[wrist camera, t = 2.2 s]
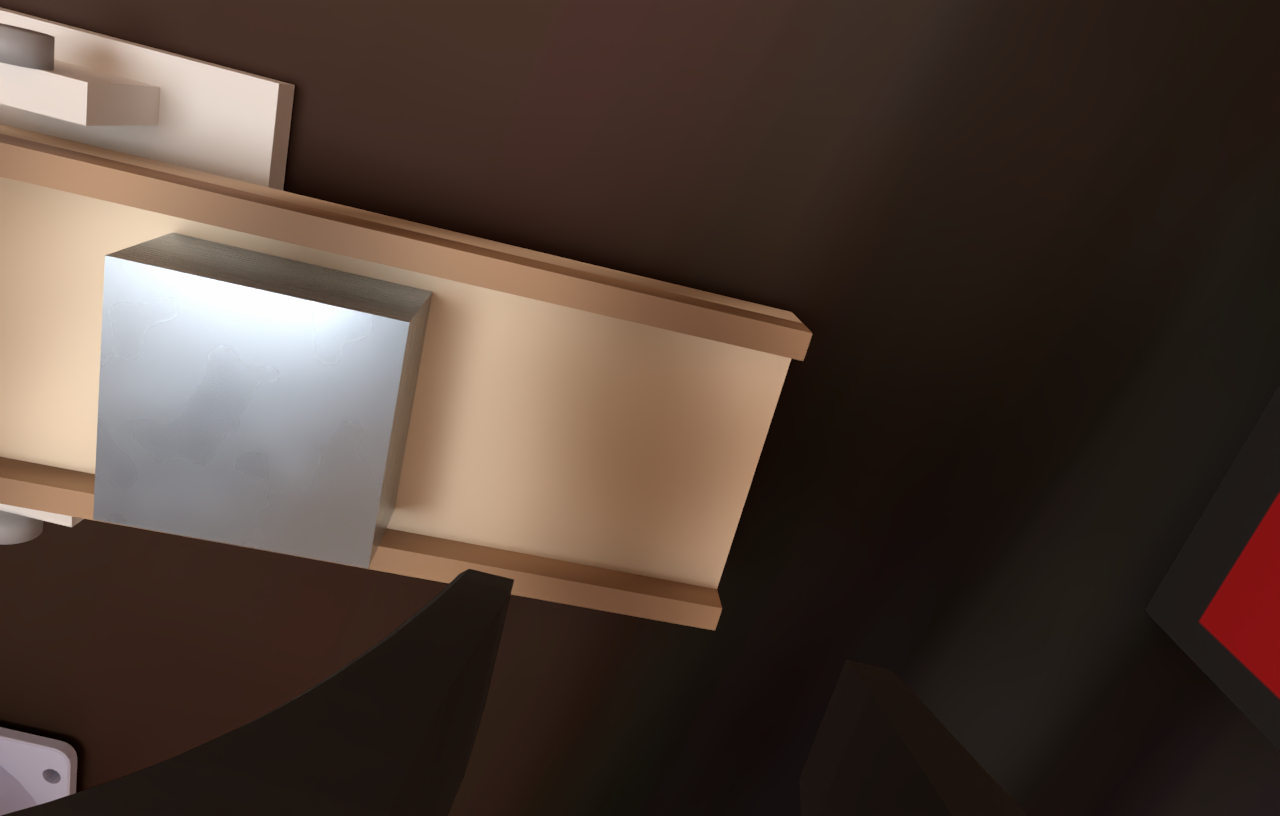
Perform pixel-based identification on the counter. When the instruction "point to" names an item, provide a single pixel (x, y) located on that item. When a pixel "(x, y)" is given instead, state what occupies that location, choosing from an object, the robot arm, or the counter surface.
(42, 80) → the fulcrum stand
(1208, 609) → the cleaning product box
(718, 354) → the beam
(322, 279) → the steel block
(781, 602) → the counter surface
